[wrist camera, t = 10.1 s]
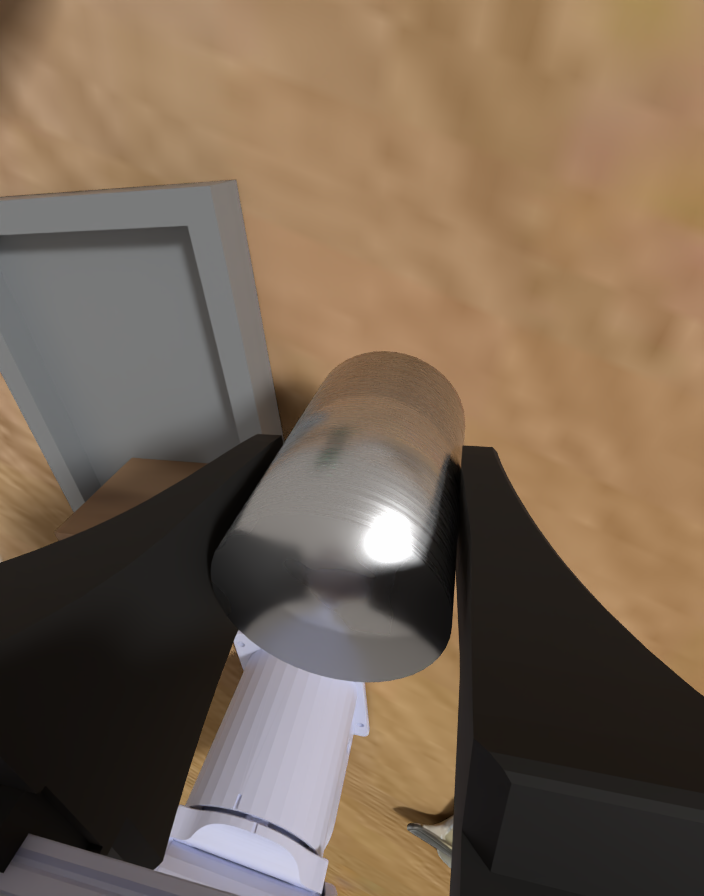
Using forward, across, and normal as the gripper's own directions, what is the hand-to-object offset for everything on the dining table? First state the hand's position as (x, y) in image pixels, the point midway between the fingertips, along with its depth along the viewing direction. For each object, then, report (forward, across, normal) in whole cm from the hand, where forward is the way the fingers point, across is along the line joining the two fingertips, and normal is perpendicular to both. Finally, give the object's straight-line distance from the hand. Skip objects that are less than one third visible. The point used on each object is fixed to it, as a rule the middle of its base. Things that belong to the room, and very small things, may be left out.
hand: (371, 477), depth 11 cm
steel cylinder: (+2, 0, 0) cm, 2 cm away
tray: (+8, +11, +3) cm, 14 cm away
